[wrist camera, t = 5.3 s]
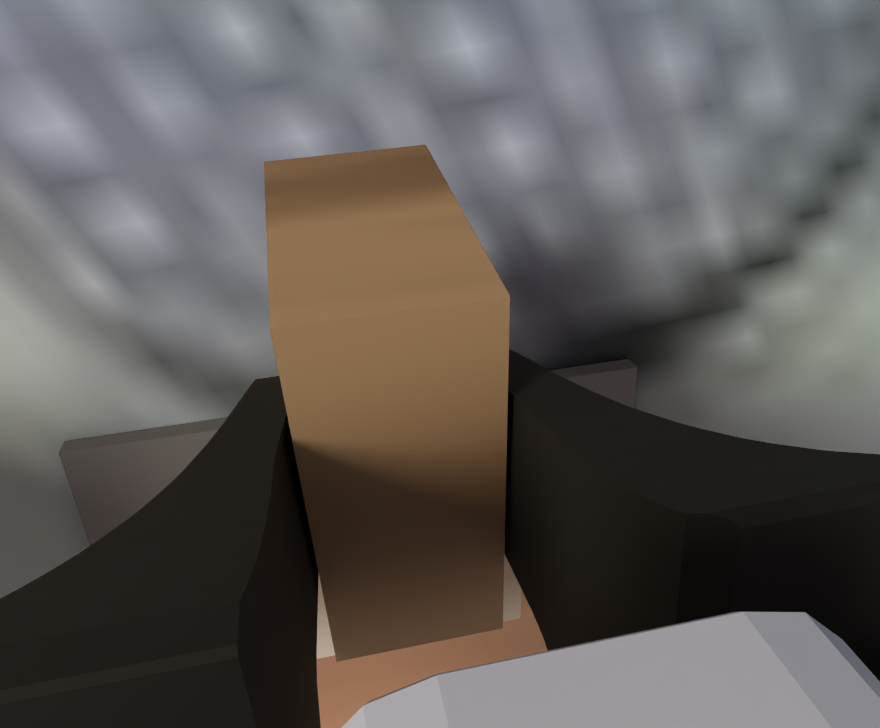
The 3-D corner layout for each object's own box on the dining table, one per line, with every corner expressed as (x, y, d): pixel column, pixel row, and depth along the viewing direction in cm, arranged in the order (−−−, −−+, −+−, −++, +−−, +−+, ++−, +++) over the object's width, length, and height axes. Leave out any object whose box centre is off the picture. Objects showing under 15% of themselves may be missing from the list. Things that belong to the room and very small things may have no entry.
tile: (259, 618, 23) (247, 1000, 14) (250, 578, 22) (231, 954, 14) (509, 571, 24) (642, 898, 15) (508, 532, 24) (646, 851, 15)
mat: (201, 848, 28) (199, 864, 27) (65, 441, 20) (59, 453, 19) (606, 756, 30) (611, 770, 30) (629, 358, 22) (637, 367, 22)
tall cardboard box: (153, 173, 12) (100, 352, 8) (526, 134, 12) (655, 276, 8) (278, 637, 19) (285, 858, 15) (511, 592, 19) (578, 788, 15)
